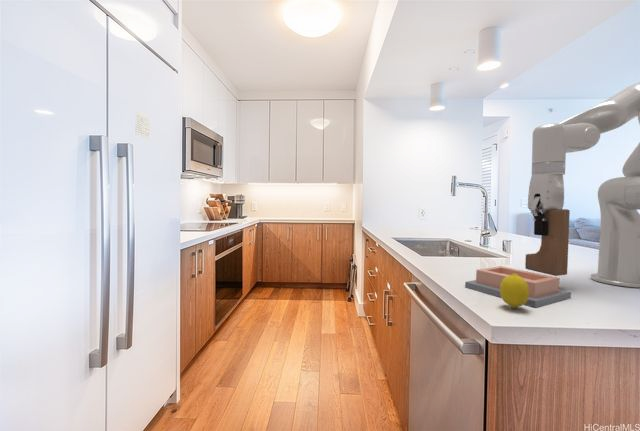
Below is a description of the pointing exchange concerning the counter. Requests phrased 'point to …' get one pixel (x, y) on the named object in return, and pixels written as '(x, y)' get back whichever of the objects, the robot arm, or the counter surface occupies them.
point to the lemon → (514, 290)
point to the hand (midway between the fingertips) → (546, 233)
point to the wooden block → (552, 246)
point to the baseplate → (530, 300)
